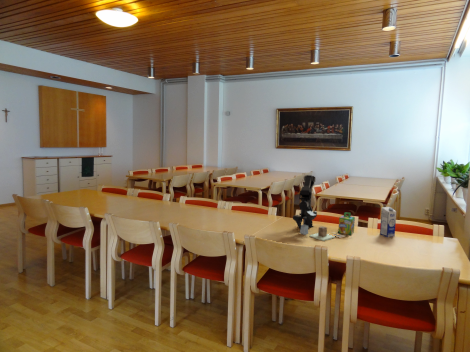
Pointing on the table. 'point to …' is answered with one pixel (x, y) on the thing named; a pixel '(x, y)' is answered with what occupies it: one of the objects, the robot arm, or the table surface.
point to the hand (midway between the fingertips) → (304, 228)
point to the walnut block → (322, 231)
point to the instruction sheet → (339, 235)
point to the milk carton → (388, 222)
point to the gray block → (304, 229)
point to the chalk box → (346, 224)
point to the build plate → (322, 237)
